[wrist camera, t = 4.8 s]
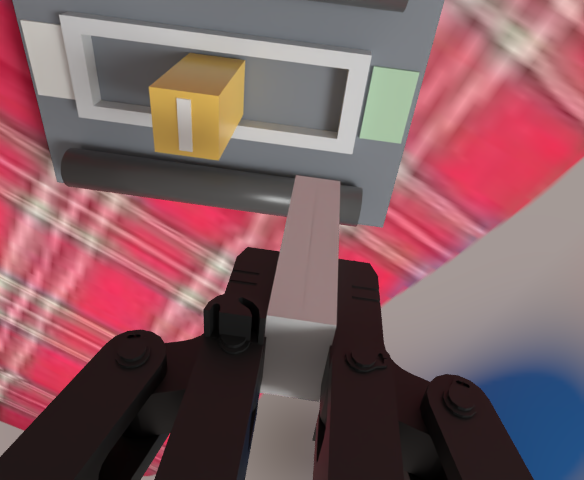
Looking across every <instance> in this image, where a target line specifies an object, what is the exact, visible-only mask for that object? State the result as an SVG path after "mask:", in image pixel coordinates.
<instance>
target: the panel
mask: <svg viewBox="0 0 584 480" xmlns="http://www.w3.org/2000/svg"><path fill="white" fill-rule="evenodd" d="M12 1H13V5H14V9H15V13H16V17H17V21H18V25H19V29H20V33H21V37H22V41H23V45H24V49H25V54H26V58H27V62H28V66H29V70H30V74H31V78H32V82H33V86H34V90H35V94H36V98H37V102H38V106H39V110H40V114H41V118H42V122H43V126H44V130H45V134H46V138H47V142H48V146H49V150H50V154H51V158H52V162H53V167H54V171H55V175H56V179H57V182H61V183H65V185H67V186H69V187H76V188H83V189H90V190H97V191H105V192H112V193H119V194H126V195H133V196H140V197H148V198H155V199H162V200H169V201H176V202H183V203H191V204H198V205H205V206H212V207H219V208H226V209H233V210H241V211H248V212H255V213H262V214H269V215H276V216H284V217H287V215H288V211H289V206H290V201H291V196H292V191H293V187H294V182H295V177H296V175H299V176H306V177H313V178H320V179H327V180H335V181H340V214H339V224H341V225H348V226H355V227H356V226H357V224H362V225H369V226H376V227H383V224H384V221H385V217H386V213H387V210H388V206H389V202H390V199H391V195H392V191H393V188H394V184H395V180H396V177H397V173H398V169H399V165H400V162H401V158H402V154H403V151H404V147H405V143H406V140H407V136H408V132H409V129H410V125H411V121H412V118H413V114H414V110H415V107H416V103H417V99H418V96H419V92H420V88H421V84H422V81H423V77H424V73H425V70H426V66H427V62H428V59H429V55H430V51H431V48H432V44H433V40H434V37H435V33H436V29H437V26H438V22H439V18H440V14H441V11H442V7H443V3H444V0H12ZM189 53H195V54H203V55H210V56H218V57H225V58H233V59H241V60H245V79H244V108H243V116H242V118H241V120H240V122H239V124H238V125H237V127H236V129H235V131H234V133H233V135H232V137H231V138H230V140H229V142H228V144H227V146H226V148H225V150H224V151H223V153H222V155H221V157H220V159H219V161H218V160H211V159H204V158H196V157H189V156H182V155H174V154H167V153H160V152H155V148H154V137H153V126H152V116H151V105H150V94H149V86H150V85H152V84H153V83H154V82H155V81H156V80H158V79H159V78H160V77H161V76H162V75H164V74H165V73H166V72H167V71H168V70H170V69H171V68H172V67H173V66H174V65H176V64H177V63H178V62H179V61H180V60H182V59H183V58H184V57H185V56H186V55H188V54H189Z"/></svg>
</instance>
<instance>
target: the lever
mask: <svg viewBox="0 0 584 480" xmlns="http://www.w3.org/2000/svg"><path fill="white" fill-rule="evenodd" d="M244 79H245V60H241V59H233V58H225V57H218V56H210V55H203V54H195V53H189V54H188V55H186V56H185V57H184V58H183V59H182V60H180V61H179V62H178V63H177V64H176V65H174V66H173V67H172V68H171V69H170V70H168V71H167V72H166V73H165V74H164V75H162V76H161V77H160V78H159V79H158V80H156V81H155V82H154V83H153V84H152V85H150V86H149V94H150V105H151V116H152V126H153V137H154V148H155V152H160V153H167V154H174V155H182V156H189V157H196V158H204V159H211V160H218V161H219V159H220V157H221V155H222V153H223V151H224V150H225V148H226V146H227V144H228V142H229V140H230V138H231V137H232V135H233V133H234V131H235V129H236V127H237V125H238V124H239V122H240V120H241V118H242V116H243V108H244Z"/></svg>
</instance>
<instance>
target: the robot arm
mask: <svg viewBox="0 0 584 480" xmlns="http://www.w3.org/2000/svg"><path fill="white" fill-rule="evenodd" d="M339 214H340V181H335V180H327V179H320V178H313V177H306V176H299V175H296V177H295V182H294V187H293V191H292V196H291V201H290V206H289V211H288V215H287V220H286V225H285V230H284V235H283V239H282V244H281V249H280V252H279V251H272V250H265V249H258V248H251V247H247V248H246V249H245V250H244V251H243V252H242V253H241V254H240V255H239V256H237V258H236V261H235V264H234V267H233V272H232V273H231V276H230V279H229V282H228V285H227V288H226V291H225V294H223V295H219V296H217V297H215V298H214V299H212V300H211V301H209V302H208V304H207V305H206V307H205V308H204V334H202V335H201V336H198V337H196V338H194V339H190V340H186V341H179V342H171V343H164V342H163V340H162V339H161V337H160V336H158V335H156V334H155V333H153V332H151V331H145V330H133V331H127V332H124V333H122V334H119V335H117V336H115V337H114V338H113V339H111V340H110V341H109V342H108V343H106V344H105V345H104V346H103V348H102V349H101V350H100V351H99V352H98V353H97V354H96V355H95V356H94V357H93V358H92V359H91V360H90V361H89V363H88V364H87V365H86V366H85V367H84V368H83V369H82V370H81V371H80V372H79V373H78V374H77V375H76V376H75V378H74V379H73V380H72V381H71V382H70V383H69V384H68V385H67V386H66V387H65V388H64V389H63V390H62V391H61V392H60V394H59V395H58V396H57V397H56V398H55V399H54V400H53V401H52V402H51V403H50V404H49V405H48V406H47V407H46V409H45V410H44V411H43V412H42V413H41V414H40V415H39V416H38V417H37V418H36V419H35V420H34V421H33V422H32V424H31V425H30V426H29V427H28V428H27V429H26V430H25V431H24V432H23V433H22V434H21V435H20V436H19V437H18V439H17V440H16V441H15V442H14V443H13V444H12V445H11V446H10V447H9V448H8V449H7V450H6V451H5V452H4V453H3V455H2V456H1V457H0V480H141V478H142V477H143V475H144V473H145V472H146V470H147V469H148V467H149V465H150V464H151V462H152V461H153V459H154V458H155V456H156V454H157V453H158V451H159V450H160V448H161V446H162V445H163V443H164V442H165V440H166V439H167V437H168V435H169V433H170V436H169V439H168V442H167V445H166V448H165V450H164V453H163V456H162V459H161V462H160V465H159V468H158V471H157V473H156V476H155V479H154V480H245V476H246V470H247V465H248V459H249V454H250V449H251V443H252V438H253V432H254V426H255V421H256V415H257V407H258V399H259V394H260V393H265V394H271V395H278V396H285V397H291V398H298V399H305V400H311V401H319V399H320V410H319V415H318V419H317V423H316V428H315V432H314V436H313V441H315V454H314V471H313V480H534V479H533V477H532V476H531V474H530V472H529V470H528V468H527V467H526V465H525V463H524V461H523V459H522V458H521V456H520V454H519V452H518V450H517V449H516V447H515V445H514V443H513V441H512V440H511V438H510V436H509V434H508V433H507V431H506V429H505V427H504V425H503V424H502V422H501V420H500V418H499V416H498V415H497V413H496V411H495V409H494V407H493V406H492V404H491V402H490V400H489V399H488V398H487V396H486V395H485V393H484V392H483V391H482V390H481V389H480V388H479V387H478V386H476V385H475V384H474V383H473V382H471V381H469V380H467V379H465V378H463V377H460V376H457V375H449V374H445V375H441V376H437V377H435V378H434V379H433V380H432V381H431V382H429V381H427V380H424V379H422V378H420V377H417V376H415V375H413V374H411V373H408V372H407V371H405V370H403V369H402V368H400V367H399V366H398V365H397V364H395V363H394V361H393V360H392V359H391V358H390V355H389V354H388V352H387V351H386V350H385V346H384V340H383V330H382V317H381V306H380V295H379V284H378V276H377V274H376V272H375V271H374V269H373V268H372V266H371V265H370V263H364V262H357V261H350V260H343V259H338V251H339Z"/></svg>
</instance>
